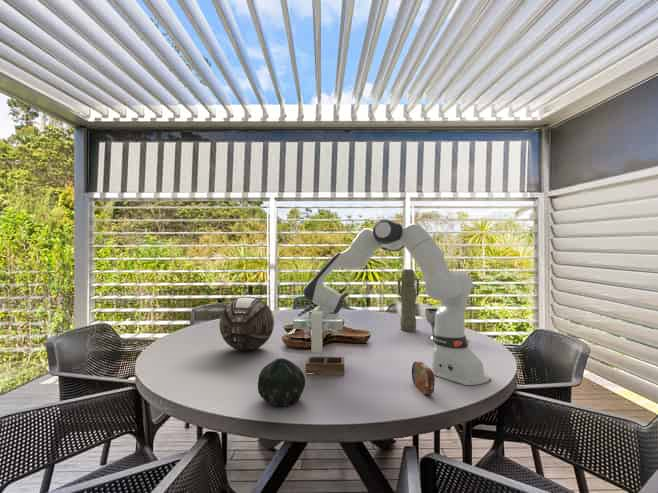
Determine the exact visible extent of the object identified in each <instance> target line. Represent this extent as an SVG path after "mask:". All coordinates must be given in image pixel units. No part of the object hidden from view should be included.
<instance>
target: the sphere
mask: <svg viewBox="0 0 658 493" xmlns="http://www.w3.org/2000/svg"><path fill="white" fill-rule="evenodd" d="M274 319H275V318H274V315H273V312H272V309H271V308H270V306H269V305H268V304H267V303H266V302H264V301H263V300H262V299H260V298H257V297H255V296H241V297H238V298H236V299H234V300H231V302H230V303H228V305H227V306H225V307H224V309H223V311H222V313H221V315H220V318H219V332H220V335H221V338H222V339H223V341H225V343H226V344H227V345H228V346H229V347H231V348H233V349H235V350H237V351H243V352H248V351H254V350H256V349H258V348H259V349H260V347H262V346H264V344H265V345H266V343H267V342H268V341H269V339H270V338H271V336H272V334H273V332H274V328H275V327H274V326H275V320H274Z"/></svg>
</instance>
